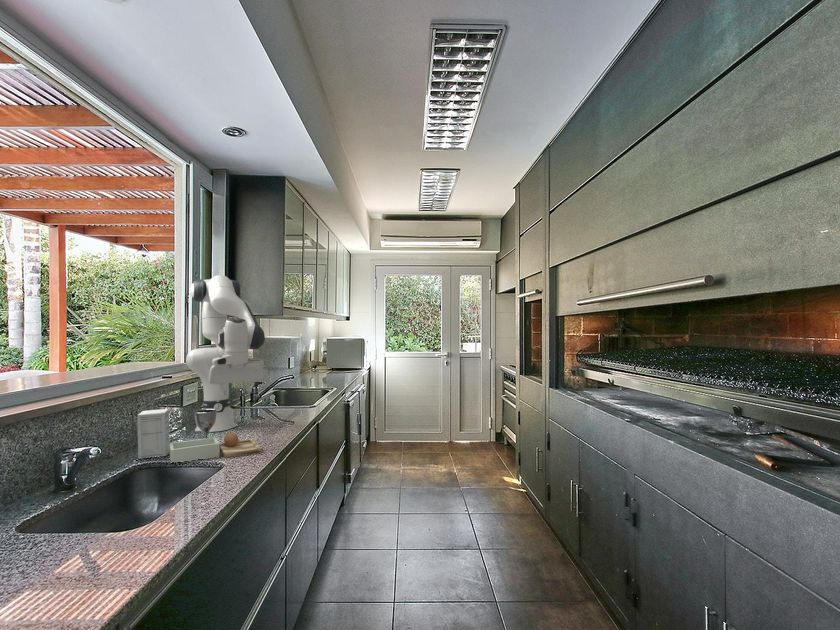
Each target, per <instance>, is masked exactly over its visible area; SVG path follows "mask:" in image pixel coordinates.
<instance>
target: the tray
mask: <svg viewBox="0 0 840 630" xmlns="http://www.w3.org/2000/svg"><path fill="white" fill-rule="evenodd" d="M219 451H220V452H221V454H222V456H223V458H224V459H228V458H235V457H241V455H243V456H247V455H246V454H249V455H254V454H253V453H256V454H260V452H261V453H262V447H260V445H259V444H258V443H257V442H256V441H255V440H254V439H253V438H252V439H243V440H238V443H237V444H236V445H235V446H227V445H226V444H225V442H222V443H219Z"/></svg>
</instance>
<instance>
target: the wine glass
mask: <svg viewBox="0 0 840 630" xmlns="http://www.w3.org/2000/svg"><path fill="white" fill-rule="evenodd" d="M194 420H195V421H194V422H195V424H196V427H197V426H198V428H199V429H200V430H202V431H201V432H202V434H203V435H204V436H203V437H204V439H205V438H208V436H209V435H208V434H209V433H210V432H209V431H210V429H211V428H212V427H213V426H214V424H215V421H216V409H197V410H195V411H194Z"/></svg>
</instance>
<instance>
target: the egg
mask: <svg viewBox="0 0 840 630" xmlns="http://www.w3.org/2000/svg"><path fill="white" fill-rule="evenodd" d="M223 439H224V440H223V443H225V444H226V445H227V446H235V445H236V444H237V443H238V441H239V435H237V434H236V433H233V432H229V433H227V434H226V435H225V436H224V438H223Z"/></svg>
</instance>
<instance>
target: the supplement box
mask: <svg viewBox="0 0 840 630" xmlns="http://www.w3.org/2000/svg"><path fill="white" fill-rule="evenodd" d="M169 409H170V408H161V409H149V410H142V411H141V412H140V413H138V414H137V418H136V419H137V458H145V457H155V456H156V457H157V456H166V455H167V456H168V454H170V443H171V442H170V441H171V440H170V439H171V438H170V410H169ZM167 456H166V457H167Z"/></svg>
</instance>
